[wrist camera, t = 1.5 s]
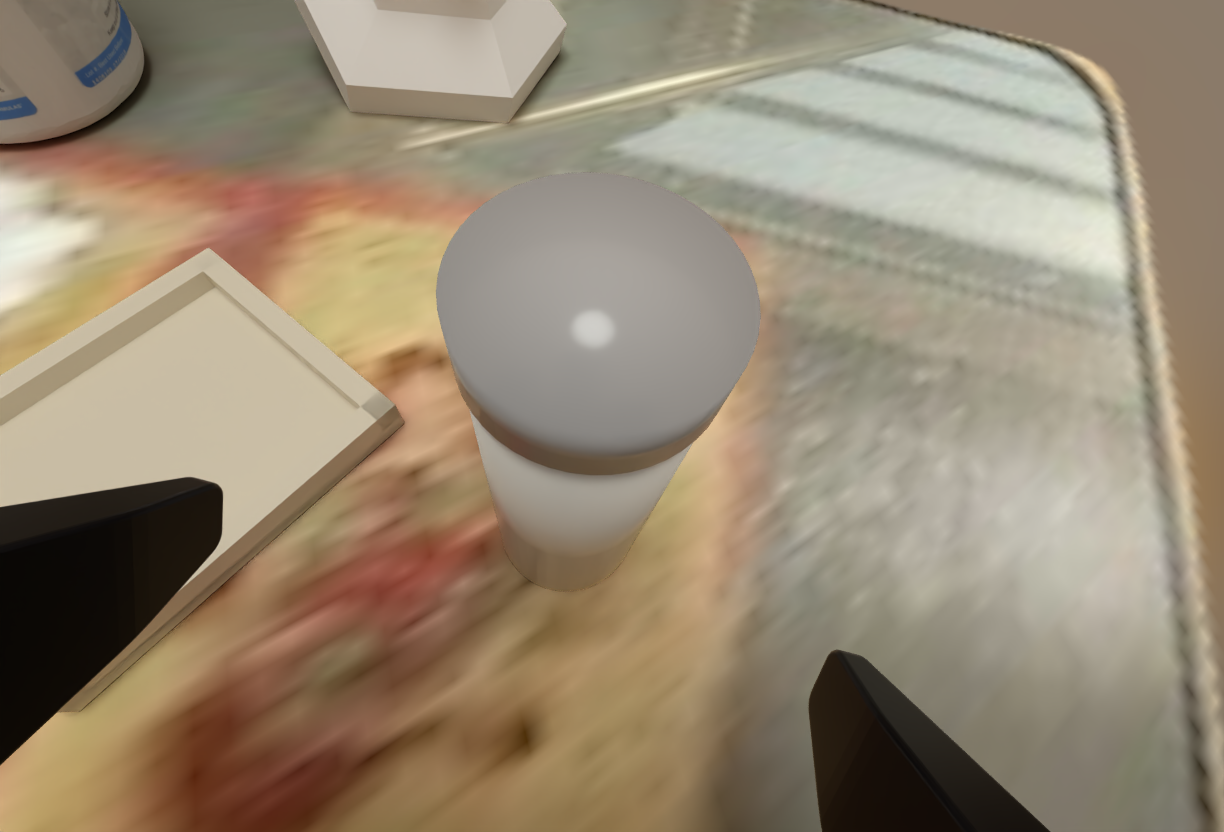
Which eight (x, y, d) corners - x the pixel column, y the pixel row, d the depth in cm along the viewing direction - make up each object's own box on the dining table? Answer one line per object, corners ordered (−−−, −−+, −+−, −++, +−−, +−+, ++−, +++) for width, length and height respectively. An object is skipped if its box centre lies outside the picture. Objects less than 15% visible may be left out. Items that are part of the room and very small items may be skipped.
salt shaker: (575, 625, 19) (632, 509, 7) (468, 532, 20) (362, 292, 8) (661, 516, 21) (816, 282, 9) (560, 435, 22) (582, 131, 10)
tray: (79, 711, 16) (37, 713, 15) (-110, 490, 18) (-162, 474, 17) (404, 423, 21) (394, 404, 20) (228, 273, 23) (208, 247, 22)
